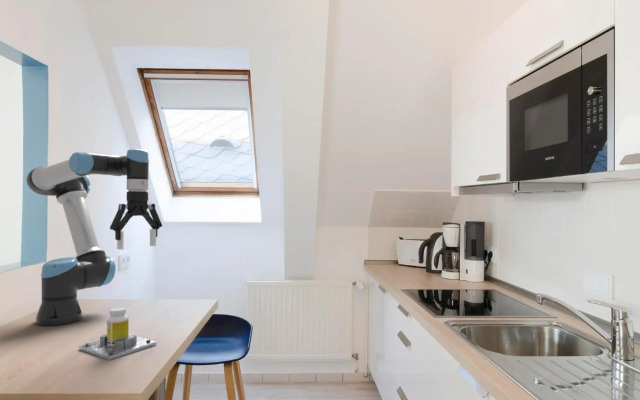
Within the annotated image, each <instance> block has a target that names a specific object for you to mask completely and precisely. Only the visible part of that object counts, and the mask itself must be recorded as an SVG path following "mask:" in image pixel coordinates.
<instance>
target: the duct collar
mask: <svg viewBox="0 0 640 400" xmlns="http://www.w3.org/2000/svg"><path fill="white" fill-rule="evenodd" d="M156 345H157V341H156V340H152V339H148V338H145V337H141V336H137V334H132V333H129V337H128V338H125V339H119V340H114V347H111V346H108V345H107V333H104V334H103V335H101V336H99V340H96V341H93V342H90V343H89V342H88V343H85V344H83V345H80V346H78V347H79V351H82V352H85V353H88V354H91V355H94V356H97V357H100V358H101V359H104V360H107V361H112V360H113V359H114V360H115V359H117V358H120V357H123V356H126V355H129V354H132V353H136V352H138V351H141V350H145V349H147V348H150V347H154V346H156Z"/></svg>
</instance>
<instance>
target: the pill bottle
mask: <svg viewBox="0 0 640 400" xmlns="http://www.w3.org/2000/svg"><path fill="white" fill-rule="evenodd" d="M126 313H127V309H126V307H114V308H110V309H109V317H107V319H106V334H107V345H108V346H111V347H114V340H119V339H125V338H128V337H129V334H130V333H129V332H130V331H129V321H130V320H129V316H128V315H127V314H126Z"/></svg>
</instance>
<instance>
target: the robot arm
mask: <svg viewBox="0 0 640 400" xmlns="http://www.w3.org/2000/svg"><path fill="white" fill-rule="evenodd" d="M149 162H150V160H149V152H148V151H147V150H146V149H138V148H137V149H134V148H132V149H127V150H126V155H111V154H103V153H101V154H100V153H92V152H91V153H90V152H85V151H81V152H80V151H79V152H73V153H72V154H71V156H70V157H69V158H68V159H67V160H64V161H61V162H58V163H55V164H52V165H49V166H46V165H45V166H44V165H43V166H38V167H35V168H33V169H32V170H30V171H29V173H27V176H26V185H27V186H28V187H29V189H30V190H31V191H32V192H34V193H36V194H38V195H41V196H49V197H51V196H52V197H54V196H55V198H56V201H57V203H59V204H60V205H62V207H63V210H64V215H65V218H66V221H67V224H68V225H67V226H68V228H69V232H70V235H71V239H72V243H73V245H74V250H75V253H76V256H75V257H73V256H72V257H69V256H68V257H60V258H56V259H55V258H54V259H52V260H48V261H46V262H45V263H43V264H42V267H41V274H40V277H41V303H40V305H39V308H38V311H37V314H36V316H35V324H36V325H38V326H45V327H53V326H61V325H68V324H72V323H75V322H79V321H80V320H81V319H83V311H82V309H81V306H80V304H79V301H78V291H80V290H84V289H85V290H86V289H92V288H99V287H102V286H106V285H108V284H110V283H112V281H113V280H114V278H115V274H116V272H117V271H116V262H115V260H114V259H113V258H112V257H111V256H107V255H106V252H105V250H103V249H102V248H100V246H99V243H98V239H97V236H96V232H95V228H94V225H93V223H92V219H91V216H90V213H89V212H90V211H89V209H88V206H87V202H86V199H87V197H88V194H89V193H90V190H91V187H90V186H91V181H90V178H89V176H90V175H104V176H114V177H115V176H116V177H121V176H122V177H123V176H126V190H127V191H126V204H125V203H119V204H118V208H117V211H116V214H115V216H114V218H113V220H112V222H111V224H110V225H109V229H110V230H111V231H114V234H115V236H114V237H115V241H116V249H117V250H124V240H125V239H124V234H125V233H124V231H123V230H124V228H125V226H126V225H127V224H128V222H129V221H130V220H131V219H132V218H133V217H134V216H135V217H136V216H141V217H143V219H145V221H146V222H147V224H148V225H149V227H151V228H149V246H150V247H156V245H157V238H158V230H160V228H162V227H163V224H162V221H161V219H160V216H159V214H158V212H157V209H156V204H155V203H149V204H148V201H149V192H148V190H149V170H150V169H149V165H150V164H149ZM126 210H127V211H126Z"/></svg>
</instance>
